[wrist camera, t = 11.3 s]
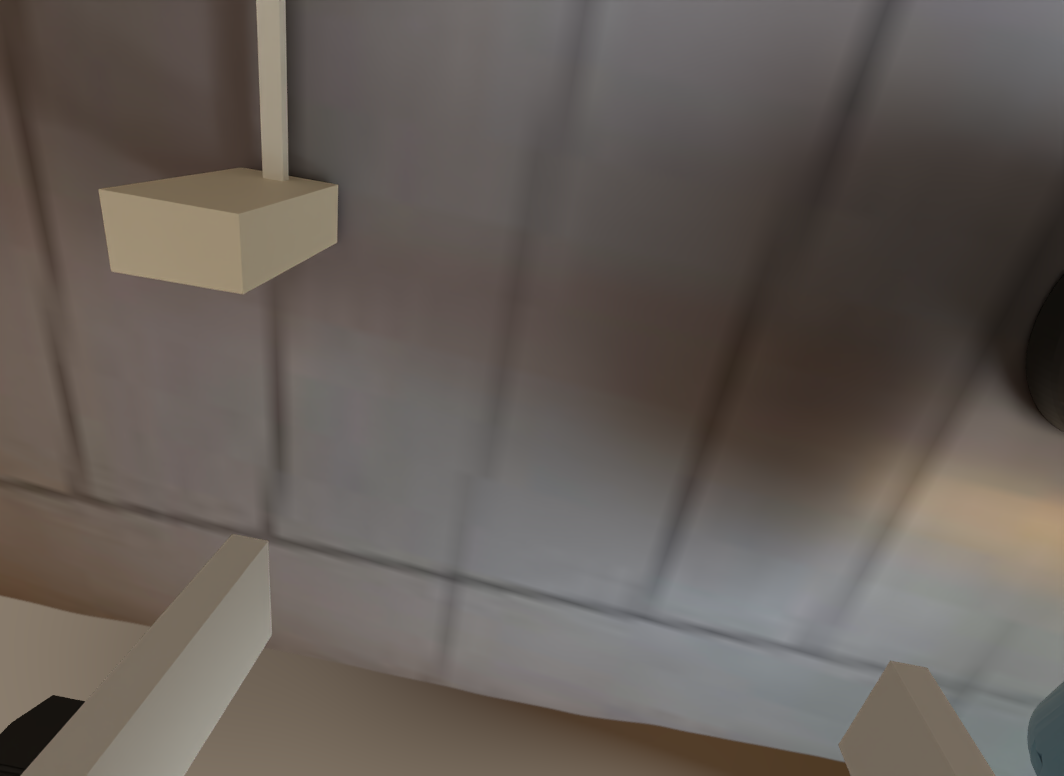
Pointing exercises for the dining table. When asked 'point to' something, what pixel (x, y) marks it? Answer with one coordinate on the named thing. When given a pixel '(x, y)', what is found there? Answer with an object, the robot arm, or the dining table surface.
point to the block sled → (227, 202)
